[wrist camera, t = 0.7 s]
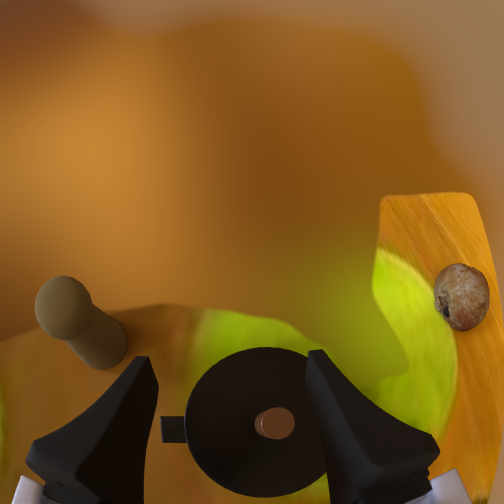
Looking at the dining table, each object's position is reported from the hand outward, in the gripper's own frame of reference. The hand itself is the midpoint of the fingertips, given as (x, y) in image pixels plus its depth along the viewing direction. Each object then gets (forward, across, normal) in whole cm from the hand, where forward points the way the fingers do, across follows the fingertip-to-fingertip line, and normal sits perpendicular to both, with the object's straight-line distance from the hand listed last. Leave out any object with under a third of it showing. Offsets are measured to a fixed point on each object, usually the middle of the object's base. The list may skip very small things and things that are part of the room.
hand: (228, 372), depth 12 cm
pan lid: (+4, -2, +11) cm, 12 cm away
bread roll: (+18, -32, +12) cm, 39 cm away
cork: (+13, +15, +9) cm, 21 cm away
